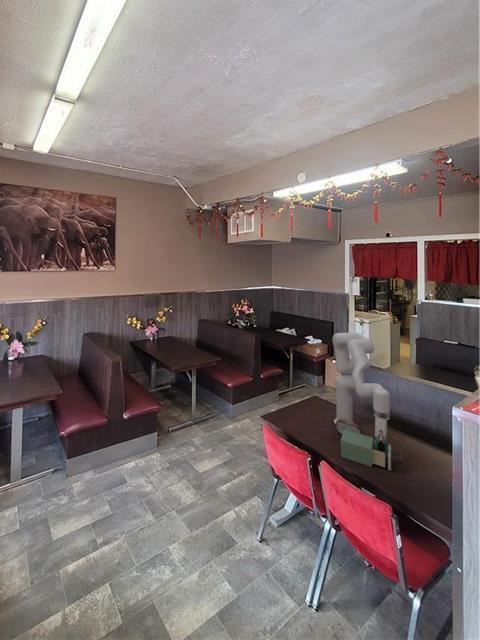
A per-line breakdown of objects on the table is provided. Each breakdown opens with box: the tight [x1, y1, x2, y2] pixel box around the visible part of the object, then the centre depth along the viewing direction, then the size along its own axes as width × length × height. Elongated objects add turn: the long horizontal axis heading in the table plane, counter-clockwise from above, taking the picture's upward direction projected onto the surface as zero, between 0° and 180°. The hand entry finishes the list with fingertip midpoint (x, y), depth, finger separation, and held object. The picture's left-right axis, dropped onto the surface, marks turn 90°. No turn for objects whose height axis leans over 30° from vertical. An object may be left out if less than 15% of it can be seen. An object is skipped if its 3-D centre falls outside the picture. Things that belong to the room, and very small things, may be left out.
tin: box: [335, 419, 364, 435], centre depth 184 cm, size 15×3×8 cm, turn 47°
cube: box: [375, 436, 388, 453], centre depth 160 cm, size 5×5×5 cm
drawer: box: [372, 440, 404, 472], centre depth 160 cm, size 18×11×7 cm, turn 56°
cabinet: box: [340, 430, 374, 468], centre depth 166 cm, size 15×13×9 cm
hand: (381, 447), depth 160 cm, fingers closed on cube, 4 cm apart
